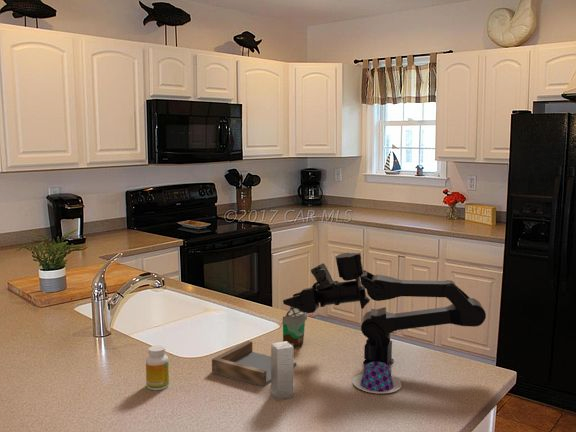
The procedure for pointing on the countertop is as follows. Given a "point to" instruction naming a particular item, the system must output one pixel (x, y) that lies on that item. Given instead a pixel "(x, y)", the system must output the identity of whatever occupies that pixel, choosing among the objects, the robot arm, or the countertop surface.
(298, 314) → the food container
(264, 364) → the corner mat
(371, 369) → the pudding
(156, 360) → the supplement bottle
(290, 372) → the aluminium post
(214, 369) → the corner walls
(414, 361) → the countertop surface
